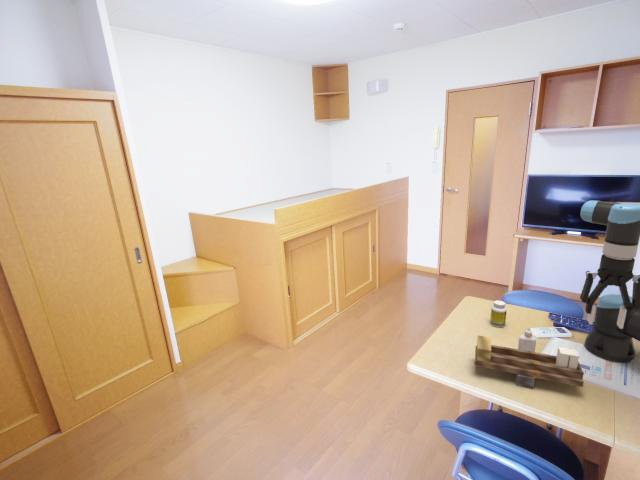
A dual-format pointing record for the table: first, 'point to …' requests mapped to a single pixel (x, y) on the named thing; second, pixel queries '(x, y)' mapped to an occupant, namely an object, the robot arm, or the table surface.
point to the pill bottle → (498, 314)
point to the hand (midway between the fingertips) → (604, 324)
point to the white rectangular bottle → (527, 341)
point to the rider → (567, 358)
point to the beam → (524, 364)
